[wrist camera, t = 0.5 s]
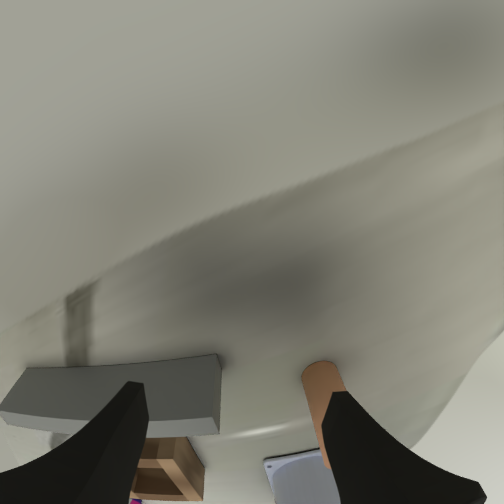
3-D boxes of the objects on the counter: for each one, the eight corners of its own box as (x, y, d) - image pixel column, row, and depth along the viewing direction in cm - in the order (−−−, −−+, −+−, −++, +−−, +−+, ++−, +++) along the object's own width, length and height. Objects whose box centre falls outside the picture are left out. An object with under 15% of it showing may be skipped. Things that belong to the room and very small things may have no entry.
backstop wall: (221, 370, 22) (219, 433, 16) (35, 381, 22) (7, 424, 16) (216, 354, 21) (212, 417, 15) (26, 367, 21) (-4, 410, 15)
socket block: (204, 469, 26) (203, 500, 22) (134, 469, 26) (127, 497, 22) (178, 422, 23) (172, 459, 19) (99, 423, 23) (87, 455, 19)
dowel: (337, 383, 23) (368, 461, 15) (303, 391, 23) (324, 473, 15) (336, 357, 22) (372, 438, 14) (299, 365, 22) (323, 451, 14)
